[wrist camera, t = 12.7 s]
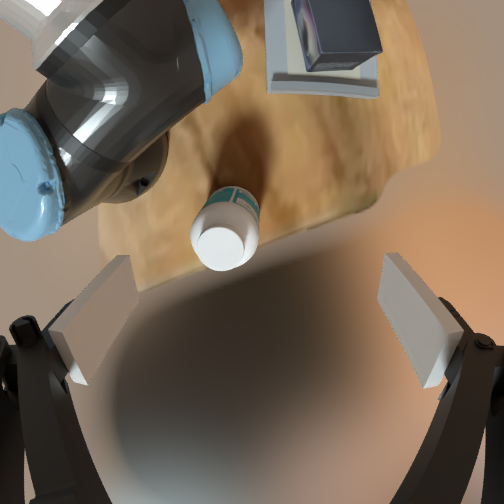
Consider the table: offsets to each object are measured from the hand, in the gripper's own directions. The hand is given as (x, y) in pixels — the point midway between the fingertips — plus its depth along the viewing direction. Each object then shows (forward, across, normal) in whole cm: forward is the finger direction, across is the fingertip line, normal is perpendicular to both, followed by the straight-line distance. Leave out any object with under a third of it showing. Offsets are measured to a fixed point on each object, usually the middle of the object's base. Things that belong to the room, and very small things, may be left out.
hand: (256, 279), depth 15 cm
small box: (+24, +8, +20) cm, 32 cm away
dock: (+27, +8, +20) cm, 34 cm away
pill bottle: (+27, -4, -4) cm, 27 cm away
